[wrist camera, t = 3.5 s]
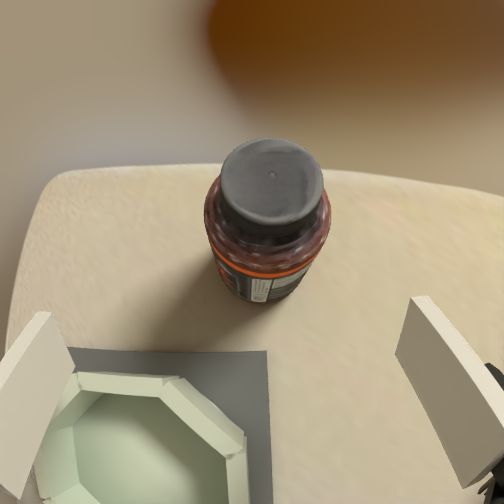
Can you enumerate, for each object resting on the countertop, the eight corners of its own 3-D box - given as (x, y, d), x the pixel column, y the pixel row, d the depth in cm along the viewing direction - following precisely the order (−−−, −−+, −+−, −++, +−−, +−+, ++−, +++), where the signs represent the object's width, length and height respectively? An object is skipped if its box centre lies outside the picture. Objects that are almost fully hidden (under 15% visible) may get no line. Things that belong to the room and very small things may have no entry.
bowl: (243, 374, 19) (242, 378, 15) (252, 541, 15) (253, 577, 10) (64, 366, 19) (25, 363, 15) (82, 520, 15) (52, 543, 10)
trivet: (266, 350, 20) (266, 350, 20) (274, 550, 15) (274, 554, 15) (53, 345, 20) (48, 344, 20) (73, 527, 15) (70, 529, 14)
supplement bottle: (207, 241, 23) (175, 140, 12) (283, 214, 24) (306, 103, 13) (236, 319, 21) (223, 273, 11) (317, 287, 22) (376, 215, 11)
